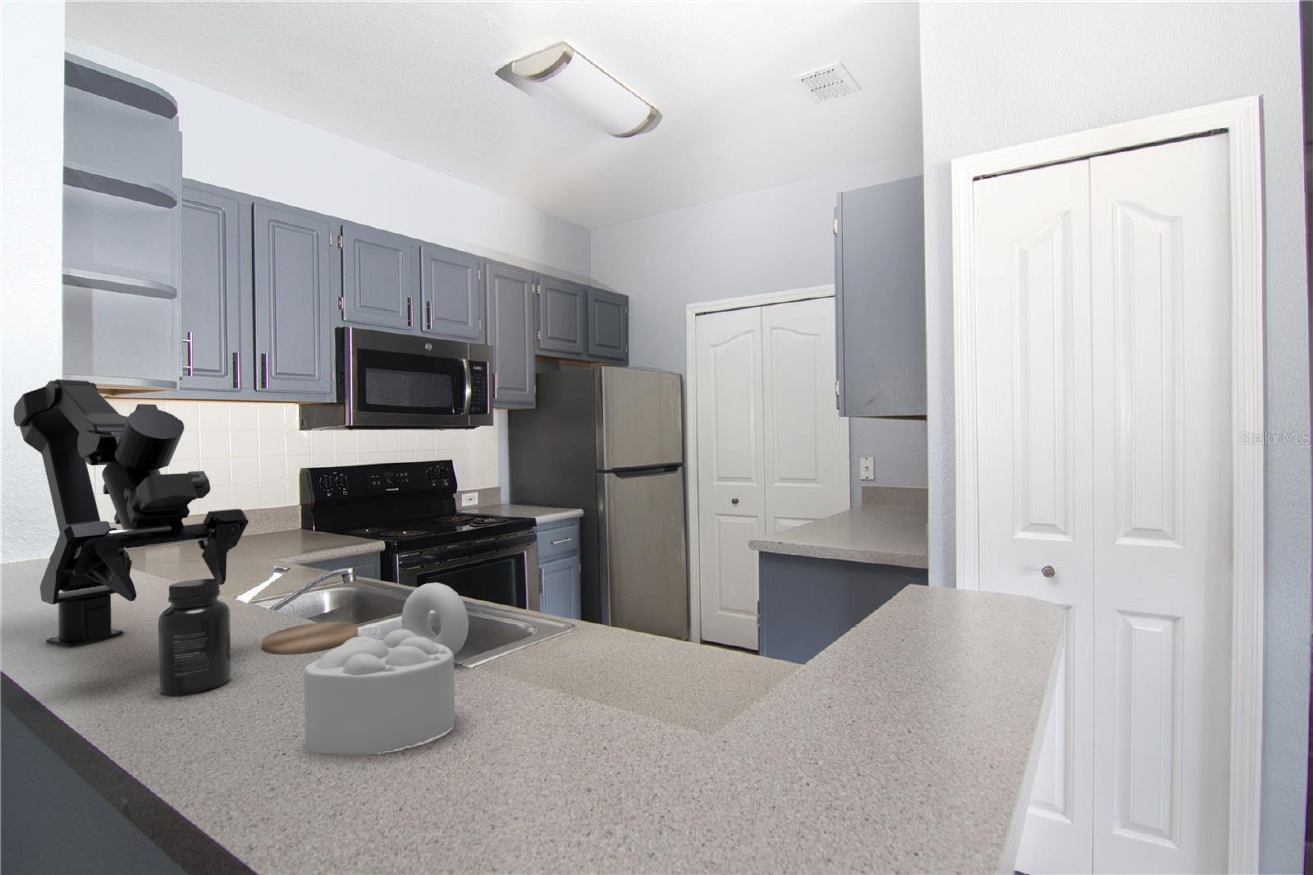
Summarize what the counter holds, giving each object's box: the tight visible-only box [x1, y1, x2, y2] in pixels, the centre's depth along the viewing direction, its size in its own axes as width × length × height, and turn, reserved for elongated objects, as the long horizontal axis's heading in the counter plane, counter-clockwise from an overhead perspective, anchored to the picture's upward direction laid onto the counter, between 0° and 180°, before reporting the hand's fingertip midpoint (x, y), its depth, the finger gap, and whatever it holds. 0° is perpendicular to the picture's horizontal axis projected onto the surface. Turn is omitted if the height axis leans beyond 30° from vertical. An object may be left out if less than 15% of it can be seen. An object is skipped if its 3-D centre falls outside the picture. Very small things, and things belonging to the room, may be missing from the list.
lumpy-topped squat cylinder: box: [303, 628, 456, 756], centre depth 62 cm, size 10×13×9 cm
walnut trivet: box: [261, 621, 359, 655], centre depth 91 cm, size 12×12×1 cm
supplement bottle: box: [157, 578, 232, 696], centre depth 74 cm, size 7×7×12 cm
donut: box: [400, 582, 470, 657], centre depth 81 cm, size 10×4×10 cm, turn 65°
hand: (180, 590), depth 76 cm, fingers open, 9 cm apart
